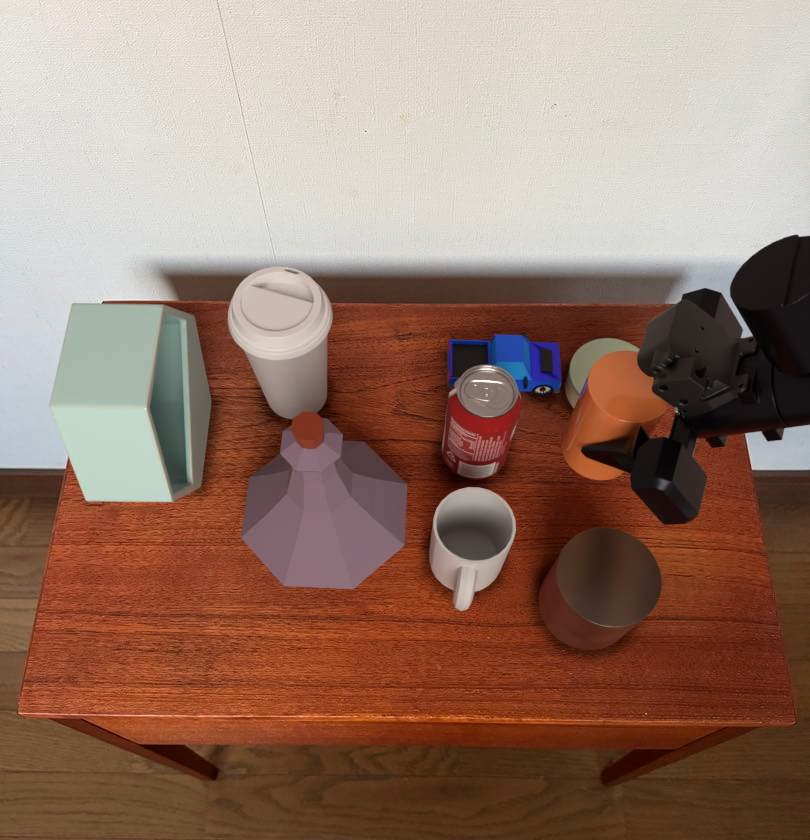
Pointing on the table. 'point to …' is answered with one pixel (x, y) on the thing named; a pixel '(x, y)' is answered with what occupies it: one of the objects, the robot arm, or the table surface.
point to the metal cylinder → (599, 588)
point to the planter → (132, 402)
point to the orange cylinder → (610, 411)
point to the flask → (324, 508)
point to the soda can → (480, 421)
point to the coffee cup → (284, 337)
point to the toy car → (509, 361)
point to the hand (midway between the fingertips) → (594, 418)
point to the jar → (590, 363)
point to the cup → (470, 541)
